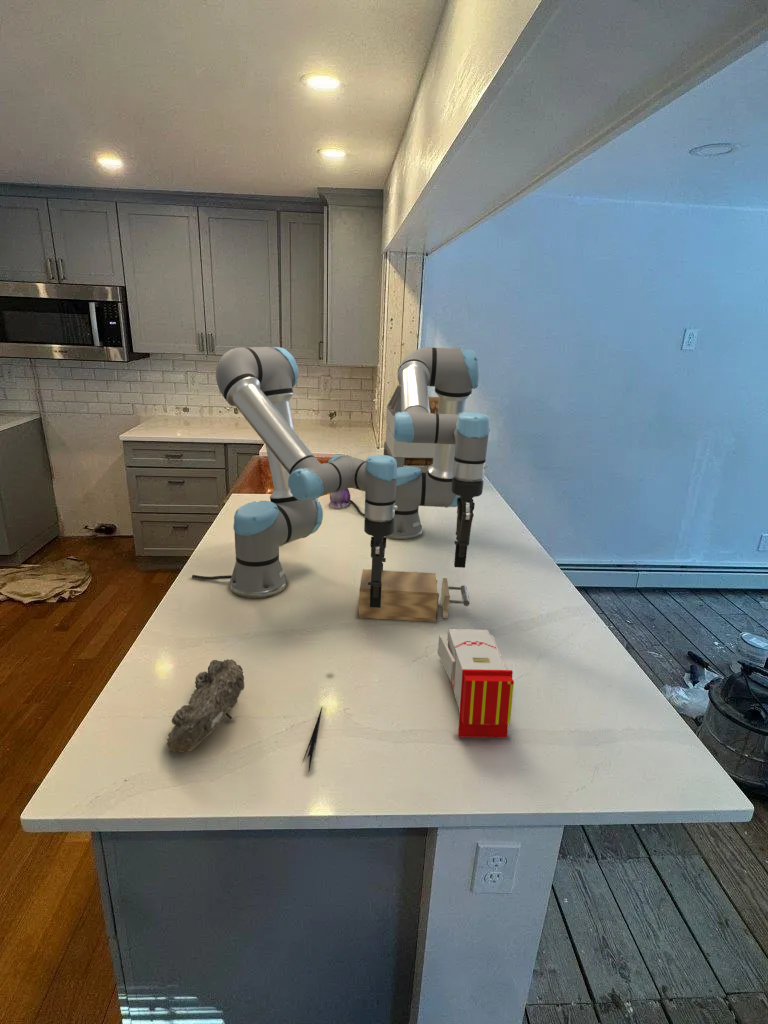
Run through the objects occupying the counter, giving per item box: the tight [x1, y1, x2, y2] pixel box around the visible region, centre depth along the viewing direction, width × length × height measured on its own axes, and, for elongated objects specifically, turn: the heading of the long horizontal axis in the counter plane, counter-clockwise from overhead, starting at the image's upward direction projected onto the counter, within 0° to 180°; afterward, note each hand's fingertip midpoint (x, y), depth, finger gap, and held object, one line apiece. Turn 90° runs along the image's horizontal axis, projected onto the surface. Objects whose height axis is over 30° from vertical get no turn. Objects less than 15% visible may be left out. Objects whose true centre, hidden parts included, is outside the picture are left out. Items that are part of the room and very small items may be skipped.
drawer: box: [436, 577, 471, 619], centre depth 148 cm, size 24×10×6 cm, turn 88°
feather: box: [301, 673, 332, 771], centre depth 108 cm, size 2×28×2 cm
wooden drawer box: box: [358, 568, 439, 623], centre depth 149 cm, size 20×11×8 cm, turn 88°
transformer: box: [383, 384, 439, 468], centre depth 268 cm, size 34×33×41 cm
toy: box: [437, 628, 515, 738], centre depth 117 cm, size 12×13×30 cm
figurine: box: [329, 488, 351, 509], centre depth 223 cm, size 9×10×15 cm
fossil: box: [166, 658, 245, 754], centre depth 106 cm, size 22×10×15 cm
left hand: (376, 595), depth 149 cm, fingers closed on wooden drawer box, 11 cm apart
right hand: (459, 566), depth 145 cm, fingers closed
